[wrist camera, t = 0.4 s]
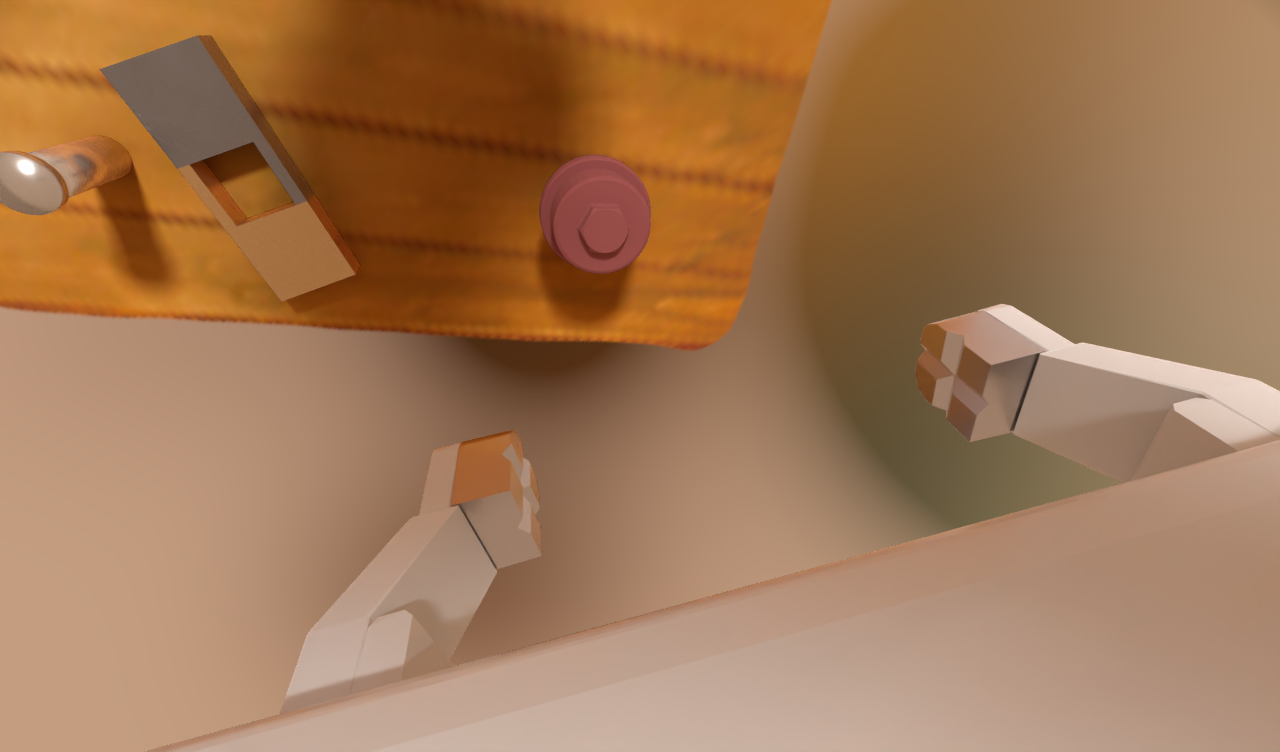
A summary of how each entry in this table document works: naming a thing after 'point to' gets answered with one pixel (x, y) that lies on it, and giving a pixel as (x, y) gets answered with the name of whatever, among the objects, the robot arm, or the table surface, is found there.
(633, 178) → the mechanical component
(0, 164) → the metal peg
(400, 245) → the table surface
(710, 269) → the table surface
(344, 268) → the two-tone slotted plate
